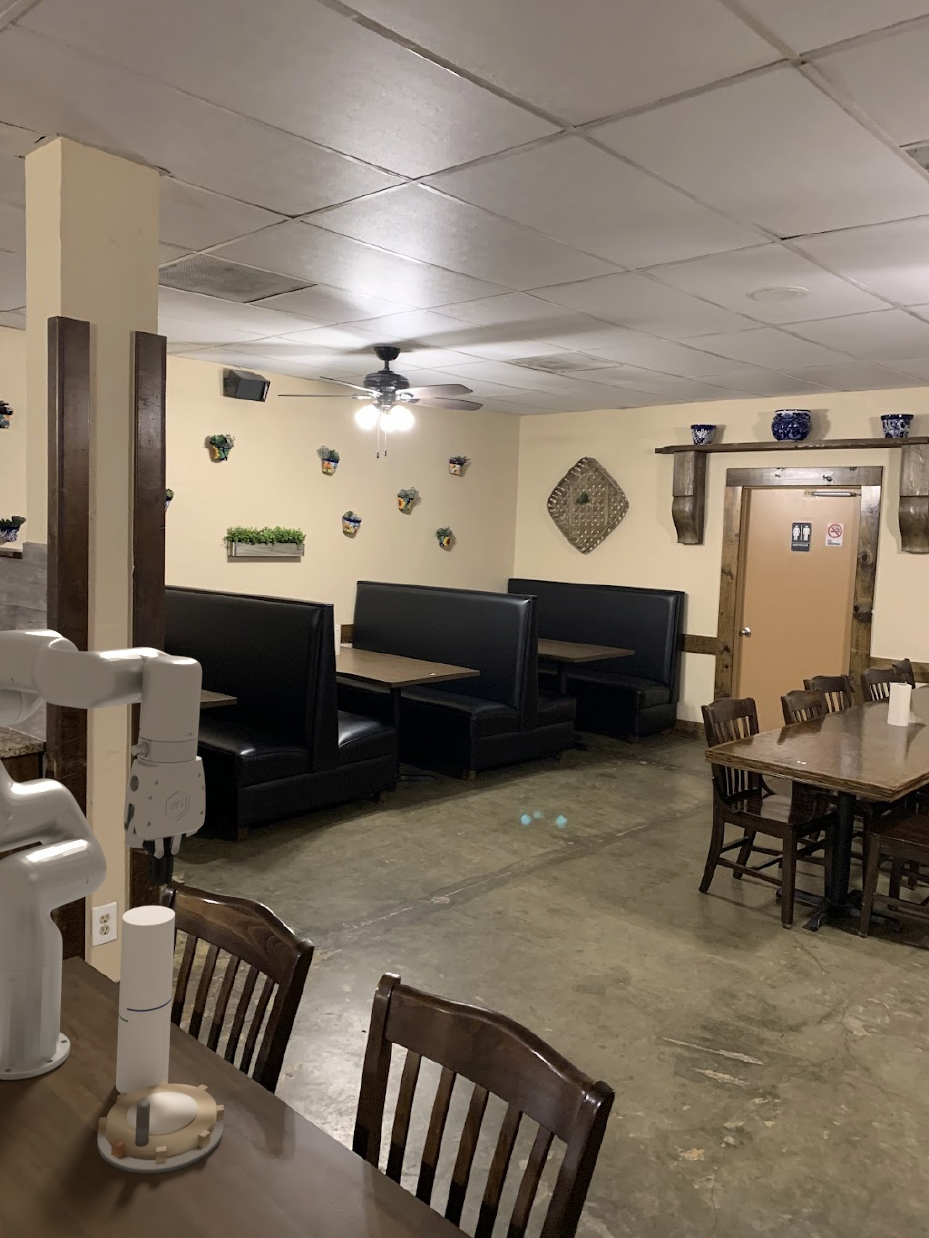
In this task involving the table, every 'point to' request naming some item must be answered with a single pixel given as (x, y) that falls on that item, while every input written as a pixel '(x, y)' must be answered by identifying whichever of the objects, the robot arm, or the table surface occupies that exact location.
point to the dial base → (150, 1164)
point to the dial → (161, 1121)
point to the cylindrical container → (145, 997)
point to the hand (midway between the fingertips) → (159, 881)
